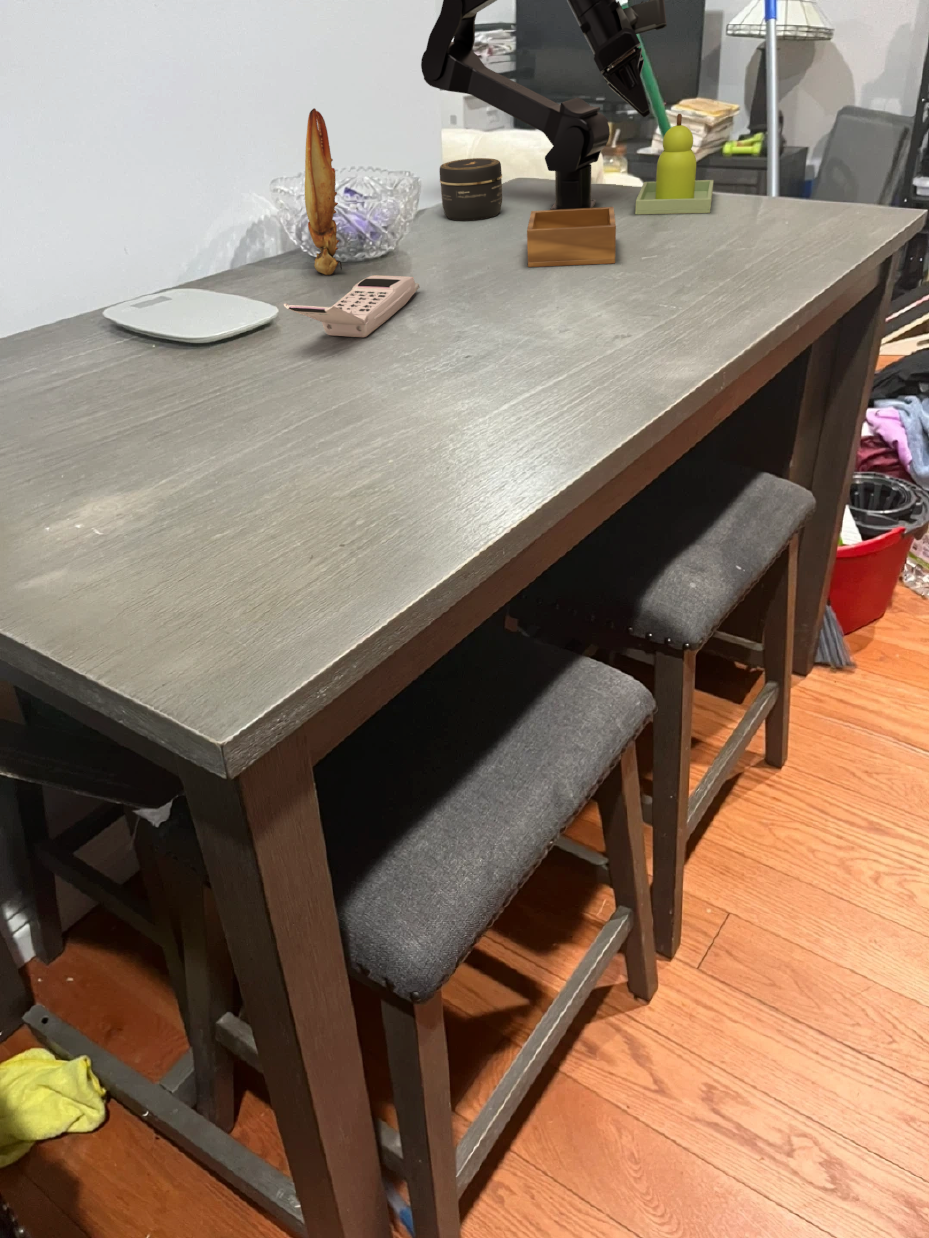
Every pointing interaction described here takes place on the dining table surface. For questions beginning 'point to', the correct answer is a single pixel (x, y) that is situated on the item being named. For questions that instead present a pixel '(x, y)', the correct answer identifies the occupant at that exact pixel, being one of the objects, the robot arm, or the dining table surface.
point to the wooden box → (571, 237)
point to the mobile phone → (363, 306)
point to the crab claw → (320, 193)
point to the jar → (471, 188)
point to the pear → (676, 164)
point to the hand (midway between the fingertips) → (646, 113)
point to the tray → (675, 200)
